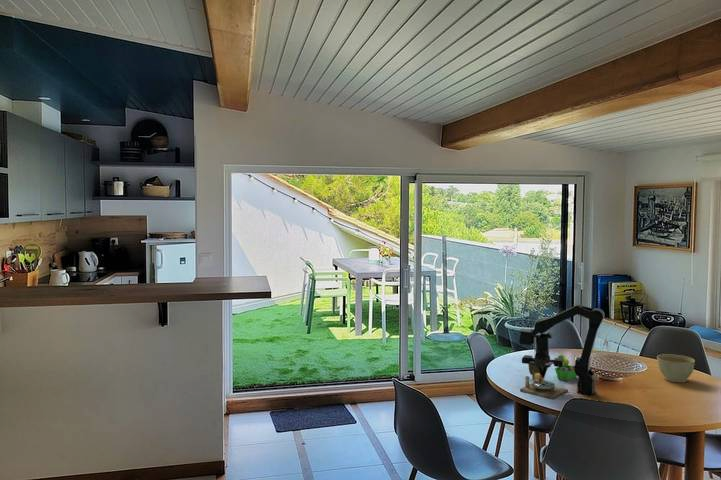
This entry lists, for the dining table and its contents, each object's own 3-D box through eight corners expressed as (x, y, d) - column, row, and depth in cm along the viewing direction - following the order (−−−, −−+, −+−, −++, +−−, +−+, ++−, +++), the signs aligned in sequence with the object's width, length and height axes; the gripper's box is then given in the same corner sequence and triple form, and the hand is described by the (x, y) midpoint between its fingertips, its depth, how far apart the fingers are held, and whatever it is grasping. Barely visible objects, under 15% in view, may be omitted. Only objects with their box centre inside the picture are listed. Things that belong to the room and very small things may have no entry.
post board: (567, 391, 247) (567, 381, 247) (552, 399, 237) (552, 389, 237) (535, 383, 259) (535, 374, 259) (520, 390, 248) (520, 381, 248)
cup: (544, 381, 263) (544, 365, 262) (529, 380, 264) (529, 364, 264) (542, 376, 270) (542, 361, 270) (527, 375, 272) (527, 360, 271)
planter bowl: (657, 373, 275) (657, 352, 274) (694, 378, 266) (694, 356, 266) (655, 381, 261) (656, 359, 260) (694, 387, 253) (695, 364, 252)
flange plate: (558, 389, 242) (558, 382, 242) (536, 389, 242) (536, 382, 242) (546, 379, 257) (546, 373, 257) (526, 380, 257) (526, 373, 257)
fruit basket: (568, 382, 261) (568, 359, 261) (551, 377, 268) (552, 355, 268) (580, 377, 269) (580, 355, 268) (563, 373, 275) (563, 352, 275)
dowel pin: (530, 386, 251) (530, 376, 251) (528, 387, 250) (528, 377, 250) (526, 385, 252) (526, 375, 252) (524, 386, 251) (524, 376, 251)
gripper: (518, 348, 252) (519, 381, 253) (560, 352, 243) (561, 385, 243) (524, 343, 262) (525, 374, 262) (564, 346, 252) (565, 379, 253)
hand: (543, 378), depth 255 cm, fingers closed
